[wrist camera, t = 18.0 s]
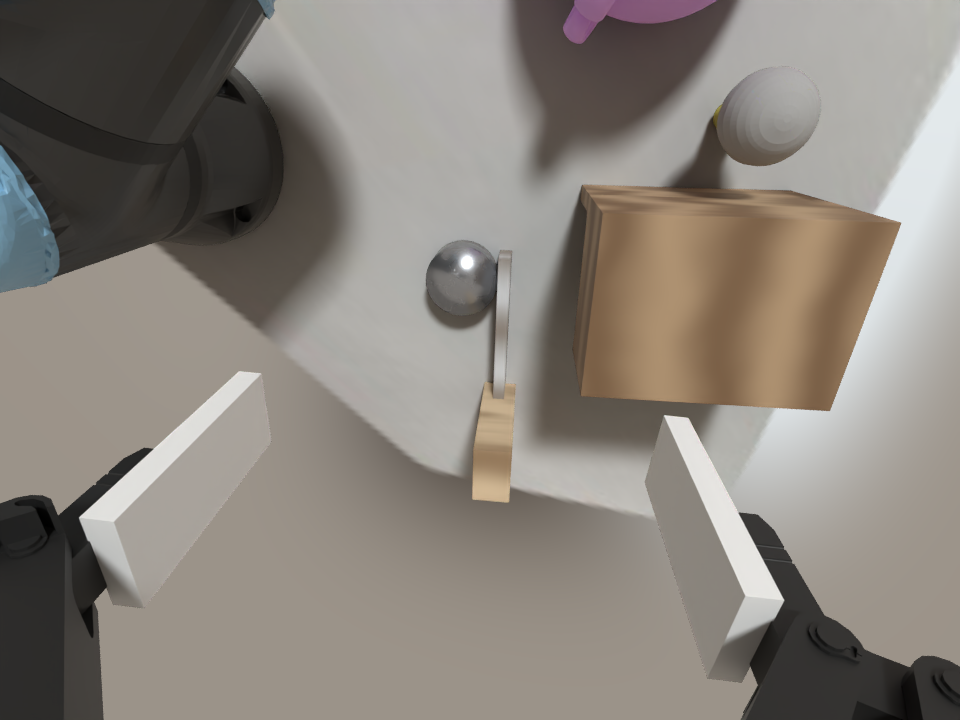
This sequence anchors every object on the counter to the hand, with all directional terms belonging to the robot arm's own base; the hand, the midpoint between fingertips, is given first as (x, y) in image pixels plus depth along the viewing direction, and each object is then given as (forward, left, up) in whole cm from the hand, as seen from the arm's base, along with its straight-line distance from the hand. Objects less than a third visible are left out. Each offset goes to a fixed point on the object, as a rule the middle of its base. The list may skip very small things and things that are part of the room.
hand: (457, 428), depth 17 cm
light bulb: (+16, +9, -29) cm, 35 cm away
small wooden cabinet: (+14, -2, -29) cm, 32 cm away
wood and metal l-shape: (0, -10, -29) cm, 31 cm away
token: (-3, -3, -29) cm, 30 cm away
